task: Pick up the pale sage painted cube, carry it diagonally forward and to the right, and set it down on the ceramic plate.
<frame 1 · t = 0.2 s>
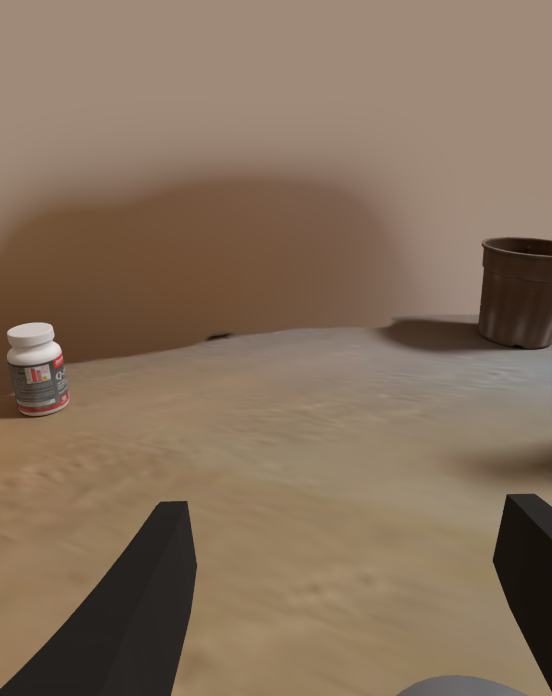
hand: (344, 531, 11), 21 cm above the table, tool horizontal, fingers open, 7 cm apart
pill bottle: (45, 407, 56), on the table
plant pot: (513, 337, 82), on the table
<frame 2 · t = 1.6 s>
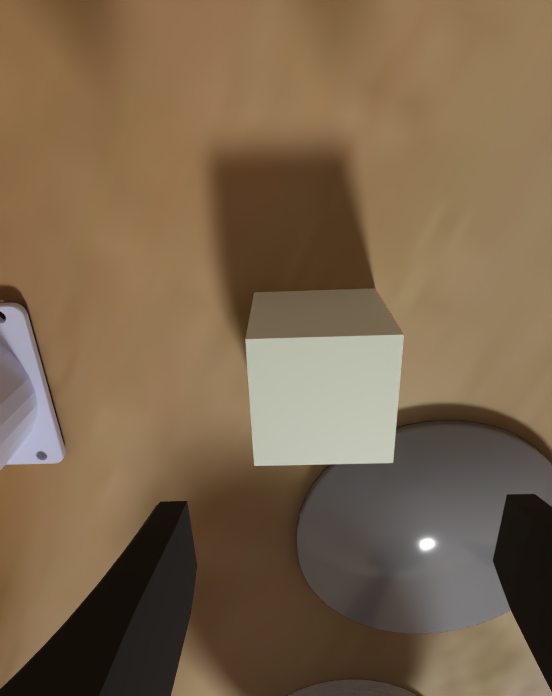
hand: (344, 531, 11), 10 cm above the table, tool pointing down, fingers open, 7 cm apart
plate: (429, 532, 24), on the table
cube: (314, 344, 20), on the table
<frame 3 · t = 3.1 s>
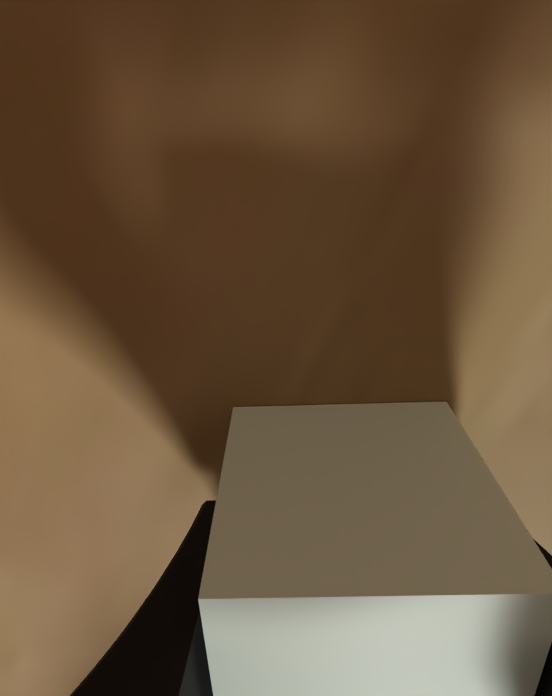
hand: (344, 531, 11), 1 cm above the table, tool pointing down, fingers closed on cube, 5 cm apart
cube: (337, 487, 12), on the table, touching gripper
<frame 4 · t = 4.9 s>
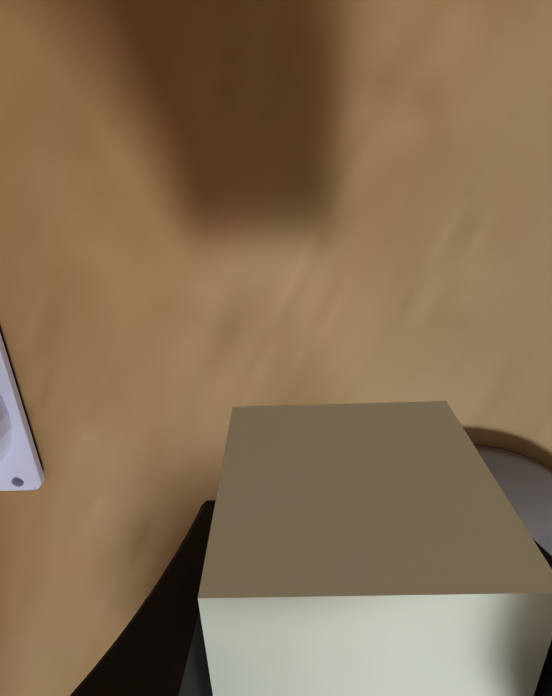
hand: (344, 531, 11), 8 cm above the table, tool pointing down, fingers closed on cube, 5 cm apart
plate: (439, 562, 23), on the table
cube: (337, 487, 12), point 7 cm above the table, touching gripper
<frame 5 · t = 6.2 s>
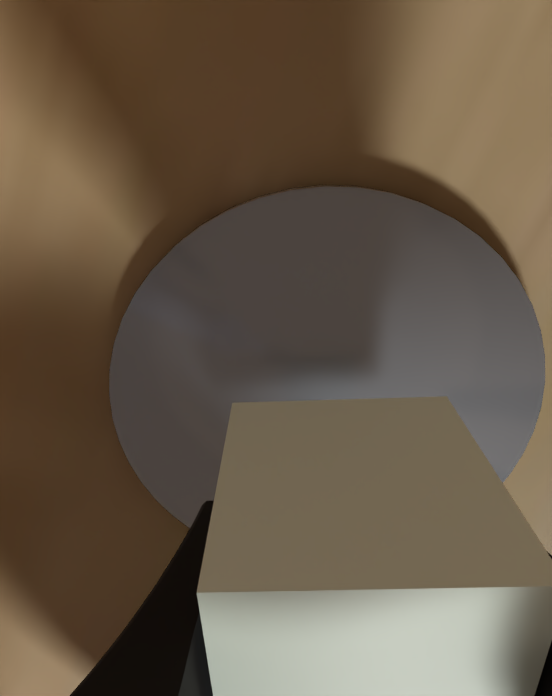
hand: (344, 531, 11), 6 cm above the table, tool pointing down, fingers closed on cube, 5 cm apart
plate: (322, 400, 16), on the table
cube: (337, 484, 12), point 4 cm above the table, touching gripper
when the fingers open (4 cm above the table, at t = 7.1 s): cube drops 1 cm, resting on plate.
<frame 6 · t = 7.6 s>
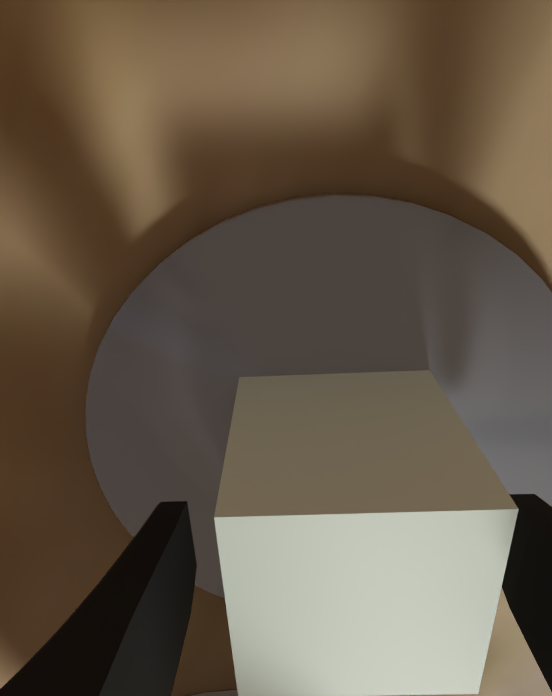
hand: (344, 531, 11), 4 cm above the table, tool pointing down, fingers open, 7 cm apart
plate: (329, 436, 14), on the table
cube: (333, 451, 13), point 1 cm above the table, touching plate
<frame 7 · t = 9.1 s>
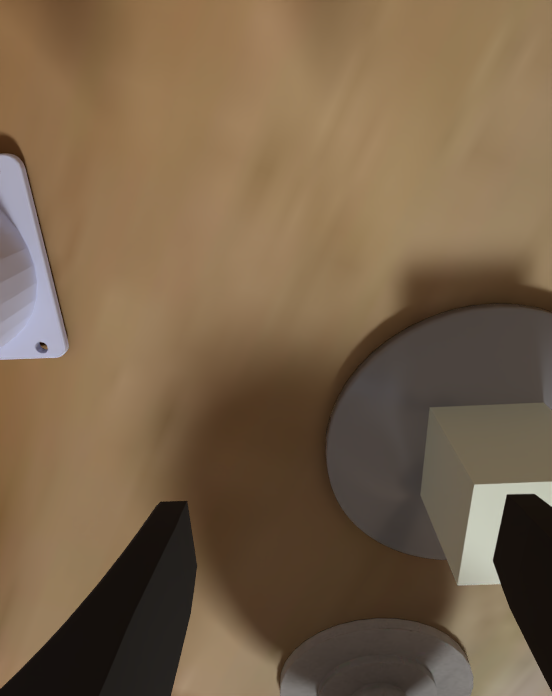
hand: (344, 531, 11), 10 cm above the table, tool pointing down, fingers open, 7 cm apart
plate: (471, 441, 22), on the table
mate gourd: (368, 684, 31), on the table
cube: (478, 450, 21), point 1 cm above the table, touching plate
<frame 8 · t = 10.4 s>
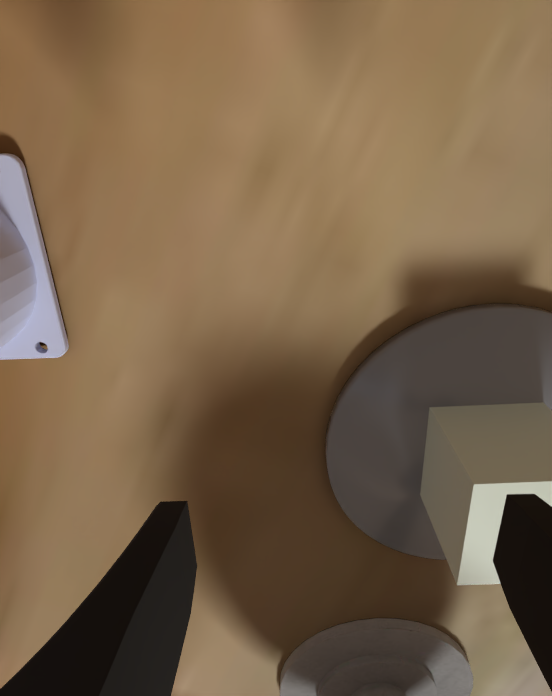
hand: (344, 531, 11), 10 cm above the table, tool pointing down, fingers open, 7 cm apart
plate: (470, 441, 22), on the table
mate gourd: (368, 684, 31), on the table
cube: (478, 450, 21), point 1 cm above the table, touching plate
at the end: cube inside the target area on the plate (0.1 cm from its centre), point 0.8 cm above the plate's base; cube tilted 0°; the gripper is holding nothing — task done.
